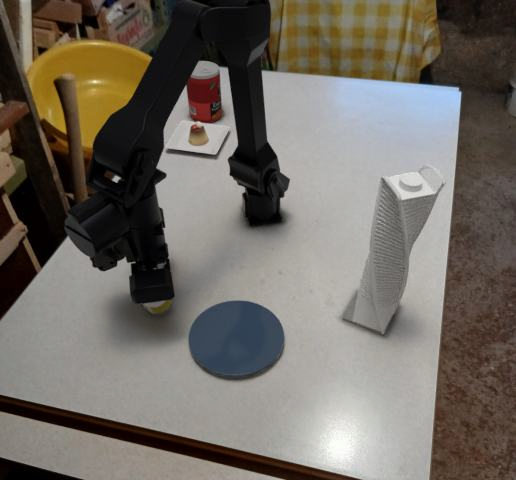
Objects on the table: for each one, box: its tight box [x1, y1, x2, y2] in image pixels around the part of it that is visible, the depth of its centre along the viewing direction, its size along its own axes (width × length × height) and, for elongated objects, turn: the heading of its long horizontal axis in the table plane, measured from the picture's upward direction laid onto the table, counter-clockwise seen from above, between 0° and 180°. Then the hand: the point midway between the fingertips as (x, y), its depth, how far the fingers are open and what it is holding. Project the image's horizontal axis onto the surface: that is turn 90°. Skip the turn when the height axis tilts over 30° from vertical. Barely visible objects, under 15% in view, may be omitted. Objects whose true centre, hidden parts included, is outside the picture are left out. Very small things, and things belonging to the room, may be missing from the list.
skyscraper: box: [342, 163, 447, 336], centre depth 72 cm, size 8×8×28 cm
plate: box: [187, 299, 285, 379], centre depth 80 cm, size 15×15×1 cm
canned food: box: [185, 60, 223, 124], centre depth 118 cm, size 8×8×11 cm
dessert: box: [164, 119, 231, 156], centre depth 114 cm, size 12×12×5 cm
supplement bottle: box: [142, 299, 173, 315], centre depth 80 cm, size 5×5×8 cm
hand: (156, 288), depth 85 cm, fingers closed, pressing on supplement bottle
